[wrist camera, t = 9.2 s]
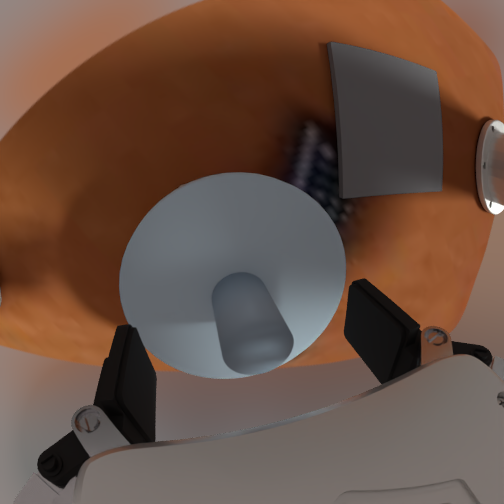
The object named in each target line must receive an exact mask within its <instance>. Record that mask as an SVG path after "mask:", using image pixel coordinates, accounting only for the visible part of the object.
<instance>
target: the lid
mask: <svg viewBox="0 0 504 504" xmlns="http://www.w3.org/2000/svg"><path fill="white" fill-rule="evenodd" d="M345 277H346V259H345V251H344V247H343V244H342V240H341V237H340V235H339V232H338V230H337V228H336V226H335V224H334V223H333V221H332V219H331V218H330V216H329V215H328V214H327V212H326V211H325V210H324V209H323V208H322V207H321V206H320V204H319V203H317V202H316V201H315V200H314V199H313V198H311V197H310V196H309V195H308V194H306V193H305V192H303V191H301V190H300V189H298V188H296V187H295V186H293V185H290V184H288V183H285V182H283V181H281V180H278V179H275V178H273V177H269V176H265V175H261V174H256V173H245V172H230V173H220V174H215V175H210V176H205V177H202V178H200V179H197V180H194V181H191V182H189V183H187V184H185V185H183V186H181V187H179V188H177V189H175V190H174V191H172V192H171V193H169V194H168V195H167V196H165V197H164V198H163V199H161V200H160V201H159V202H158V203H157V204H156V205H155V206H154V207H153V208H152V209H151V210H150V211H149V212H148V213H147V214H146V216H145V217H144V218H143V220H142V221H141V222H140V224H139V225H138V227H137V228H136V230H135V232H134V234H133V235H132V237H131V239H130V241H129V243H128V245H127V248H126V250H125V253H124V256H123V259H122V264H121V269H120V277H119V291H120V299H121V304H122V308H123V311H124V315H125V317H126V319H127V321H128V324H131V325H132V327H136V328H137V330H138V333H139V335H140V338H141V340H142V343H143V345H144V347H145V348H146V349H147V350H149V351H150V352H151V353H152V354H153V355H154V356H155V357H157V358H158V359H160V360H161V361H163V362H164V363H166V364H168V365H170V366H172V367H174V368H175V369H178V370H180V371H183V372H186V373H188V374H192V375H196V376H200V377H207V378H216V379H217V378H218V379H231V378H241V377H247V376H252V375H257V374H262V373H266V372H268V371H271V370H273V369H275V368H276V367H278V366H280V365H282V364H284V363H286V362H288V361H289V360H291V359H293V358H294V357H296V356H297V355H299V354H300V353H301V352H303V351H304V350H305V349H306V348H308V347H309V346H310V345H311V344H312V343H313V342H314V341H315V340H316V339H317V338H318V337H319V335H320V334H321V333H322V332H323V331H324V329H325V328H326V327H327V325H328V324H329V322H330V321H331V319H332V317H333V315H334V314H335V312H336V310H337V307H338V305H339V302H340V300H341V297H342V293H343V289H344V284H345Z"/></svg>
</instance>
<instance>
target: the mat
mask: <svg viewBox="0 0 504 504" xmlns="http://www.w3.org/2000/svg"><path fill="white" fill-rule="evenodd" d="M327 49H328V56H329V62H330V70H331V78H332V86H333V95H334V106H335V117H336V131H337V147H338V171H339V197H340V198H343V199H345V198H356V197H366V196H378V195H390V194H404V193H419V192H436V191H442V180H443V132H442V115H441V104H440V94H439V86H438V79H437V73H436V71H434V70H431V69H429V68H426V67H424V66H421V65H418V64H415V63H413V62H410V61H407V60H404V59H401V58H398V57H394V56H391V55H388V54H384V53H381V52H377V51H373V50H369V49H365V48H361V47H356V46H352V45H347V44H341V43H336V42H329V43H327Z"/></svg>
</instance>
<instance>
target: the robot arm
mask: <svg viewBox="0 0 504 504" xmlns="http://www.w3.org/2000/svg"><path fill="white" fill-rule="evenodd" d="M476 181H477V189H478V194H479V198H480V201H481V204H482V206H483V208H484V209H485V210H486V211H487V212H489V213H492V214H494V215H495V214H499V213H500V212H501V211H502V210H503V209H504V124H503V123H502V122H500V121H498V120H489V121H487V122H486V123H485V125H484V126H483V128H482V130H481V133H480V136H479V140H478V146H477V154H476ZM419 328H420V325H419V324H418V323H417V322H416V321H415V320H413V319H412V318H411V317H410V316H409V315H408V314H407V313H405V312H404V311H403V310H402V309H401V308H400V307H399V306H397V305H396V304H395V303H394V302H393V301H392V300H390V299H389V298H388V297H387V296H386V295H384V294H383V293H382V292H381V291H380V290H378V289H377V288H376V287H375V286H374V285H372V284H371V283H370V282H369V281H368V280H366V279H360V280H356V281H353V282H352V285H350V286H349V293H348V302H347V311H346V319H345V327H344V335H345V338H346V339H347V340H348V342H349V343H350V344H351V345H352V347H353V348H354V349H355V351H356V352H357V353H358V354H359V356H360V357H361V358H362V360H363V361H364V362H365V363H366V365H367V366H368V367H369V368H370V370H371V371H372V372H373V374H374V375H375V376H376V378H377V379H378V380H379V382H380V383H381V384H382V385H380V386H378V387H375V388H373V389H371V390H368V391H366V392H364V393H361V394H359V395H357V396H354V397H351V398H349V399H346V400H344V401H341V402H338V403H336V404H333V405H330V406H327V407H324V408H322V409H318V410H315V411H312V412H309V413H306V414H303V415H299V416H296V417H293V418H289V419H286V420H282V421H278V422H274V423H270V424H266V425H262V426H259V427H254V428H249V429H244V430H240V431H235V432H229V433H223V434H217V435H210V436H204V437H196V438H189V439H180V440H170V441H160V442H159V441H158V442H155V411H156V381H157V378H156V373H155V370H154V368H153V366H152V363H151V361H150V359H149V357H148V354H147V352H146V350H145V347H144V345H143V343H142V340H141V338H140V335H139V333H138V330H137V328H136V327H132V325H131V324H128V325H120V326H117V329H116V332H115V335H114V339H113V342H112V346H111V349H110V353H109V357H108V358H106V359H105V360H104V363H103V367H102V371H101V374H100V379H99V383H98V387H97V391H96V396H95V400H94V404H93V405H88V406H84V407H82V408H80V409H79V410H77V411H76V412H75V414H74V415H73V417H72V420H71V426H72V429H73V430H72V431H71V432H70V433H68V434H67V435H66V436H64V437H63V438H62V439H60V440H59V441H58V442H57V443H55V444H54V445H52V446H51V447H49V448H48V449H47V450H45V451H44V452H43V453H42V454H41V455H40V457H39V459H38V463H37V466H38V470H39V472H38V473H37V474H36V473H33V474H32V476H31V477H30V478H29V480H28V481H27V483H26V484H25V485H24V487H23V488H22V490H21V491H20V492H19V494H18V495H17V497H16V498H15V501H14V504H504V359H502V358H499V357H497V356H495V357H494V358H492V355H491V353H490V351H489V350H488V349H487V348H485V347H483V346H480V345H475V344H467V343H461V342H454V341H451V337H450V335H449V333H448V332H447V331H446V330H444V329H443V328H440V327H437V326H430V327H426V328H425V329H423V331H421V330H420V329H419Z"/></svg>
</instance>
